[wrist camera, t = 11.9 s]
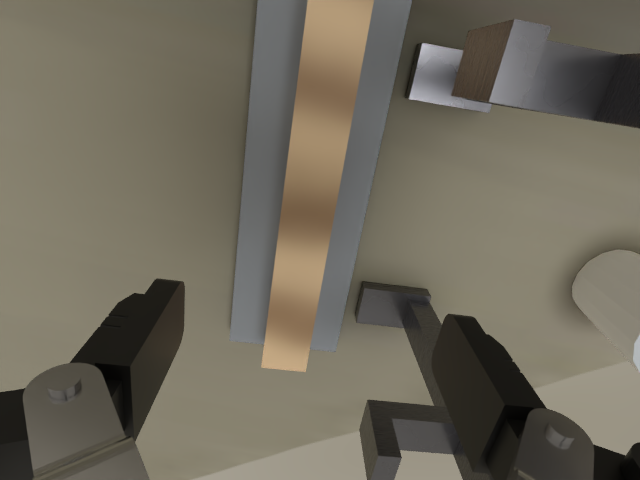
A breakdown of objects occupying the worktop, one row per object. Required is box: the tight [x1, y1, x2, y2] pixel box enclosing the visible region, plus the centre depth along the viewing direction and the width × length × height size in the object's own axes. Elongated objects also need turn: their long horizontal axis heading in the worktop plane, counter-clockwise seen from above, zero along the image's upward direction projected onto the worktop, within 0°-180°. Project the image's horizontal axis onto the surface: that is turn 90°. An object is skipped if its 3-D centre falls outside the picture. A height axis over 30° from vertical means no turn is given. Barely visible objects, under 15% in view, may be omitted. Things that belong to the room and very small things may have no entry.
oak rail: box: [261, 0, 374, 372], centre depth 23 cm, size 23×3×3 cm, turn 171°
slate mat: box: [230, 0, 412, 352], centre depth 25 cm, size 24×8×2 cm, turn 171°
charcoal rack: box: [355, 19, 640, 480], centre depth 19 cm, size 19×6×17 cm, turn 171°
